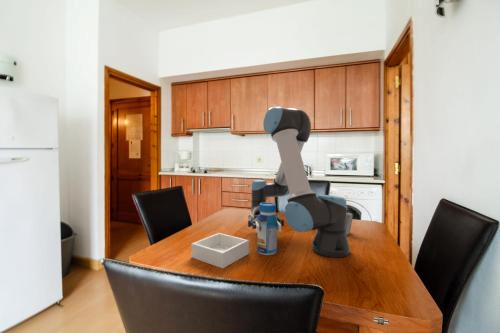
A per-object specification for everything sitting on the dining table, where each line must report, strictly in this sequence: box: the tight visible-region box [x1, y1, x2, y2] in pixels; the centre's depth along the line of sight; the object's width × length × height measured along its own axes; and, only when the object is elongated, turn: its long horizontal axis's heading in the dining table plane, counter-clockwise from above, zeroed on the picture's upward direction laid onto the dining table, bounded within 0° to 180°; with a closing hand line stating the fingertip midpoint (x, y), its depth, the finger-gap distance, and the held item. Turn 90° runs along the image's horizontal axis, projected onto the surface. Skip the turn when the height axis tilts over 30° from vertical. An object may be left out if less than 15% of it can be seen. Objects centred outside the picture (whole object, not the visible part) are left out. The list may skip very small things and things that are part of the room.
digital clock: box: [346, 212, 354, 236], centre depth 130 cm, size 16×9×11 cm, turn 30°
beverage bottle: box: [256, 201, 278, 256], centre depth 102 cm, size 8×8×20 cm
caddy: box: [190, 232, 250, 269], centre depth 98 cm, size 16×16×6 cm
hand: (269, 228), depth 97 cm, fingers closed on beverage bottle, 8 cm apart
